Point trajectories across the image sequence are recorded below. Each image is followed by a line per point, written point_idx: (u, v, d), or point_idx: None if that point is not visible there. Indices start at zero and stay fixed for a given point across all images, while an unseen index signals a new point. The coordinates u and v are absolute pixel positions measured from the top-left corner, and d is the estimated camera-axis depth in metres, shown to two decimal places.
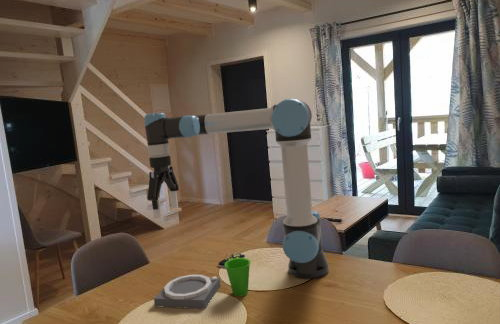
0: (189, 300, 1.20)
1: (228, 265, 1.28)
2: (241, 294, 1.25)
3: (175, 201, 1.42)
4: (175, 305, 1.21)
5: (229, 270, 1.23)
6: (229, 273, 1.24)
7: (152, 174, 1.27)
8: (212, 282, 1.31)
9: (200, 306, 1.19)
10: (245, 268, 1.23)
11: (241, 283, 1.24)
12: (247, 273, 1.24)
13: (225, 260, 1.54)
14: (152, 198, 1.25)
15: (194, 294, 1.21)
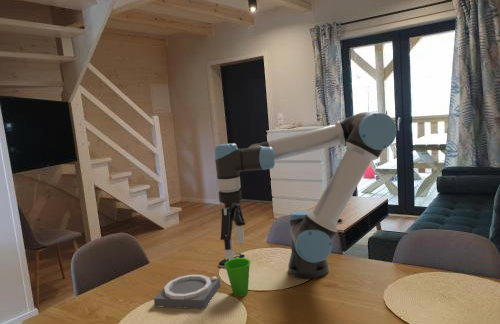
0: (189, 300, 1.20)
1: (228, 265, 1.28)
2: (241, 294, 1.25)
3: (241, 236, 1.31)
4: (175, 305, 1.21)
5: (229, 270, 1.23)
6: (229, 273, 1.24)
7: (225, 211, 1.17)
8: (212, 282, 1.31)
9: (200, 306, 1.19)
10: (245, 268, 1.23)
11: (241, 283, 1.24)
12: (247, 273, 1.24)
13: (225, 260, 1.54)
14: (226, 238, 1.15)
15: (194, 294, 1.21)
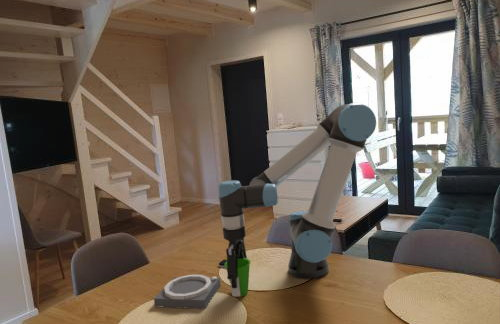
0: (189, 300, 1.20)
1: None
2: (241, 294, 1.25)
3: None
4: (175, 305, 1.21)
5: None
6: None
7: (230, 252, 1.19)
8: (212, 282, 1.31)
9: (200, 306, 1.19)
10: (245, 268, 1.23)
11: (241, 283, 1.24)
12: (247, 273, 1.24)
13: (225, 260, 1.54)
14: (233, 278, 1.18)
15: (194, 294, 1.21)
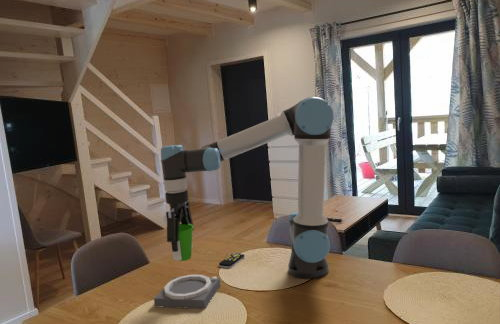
0: (189, 300, 1.20)
1: None
2: (183, 258, 1.25)
3: None
4: (175, 305, 1.21)
5: None
6: None
7: (169, 214, 1.18)
8: (212, 282, 1.31)
9: (200, 306, 1.19)
10: (187, 232, 1.23)
11: (182, 247, 1.23)
12: (189, 237, 1.24)
13: (225, 260, 1.54)
14: (172, 240, 1.18)
15: (194, 294, 1.21)
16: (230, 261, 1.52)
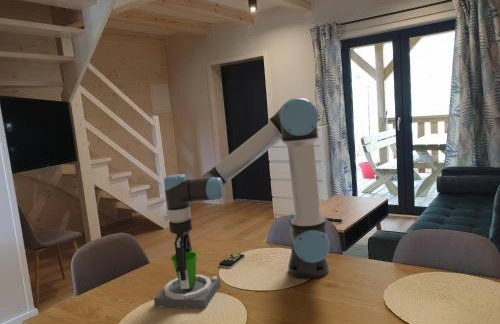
0: (189, 300, 1.20)
1: (174, 259, 1.28)
2: (189, 286, 1.26)
3: None
4: (175, 305, 1.21)
5: None
6: None
7: (178, 244, 1.20)
8: (212, 282, 1.31)
9: (200, 306, 1.19)
10: (193, 260, 1.25)
11: (189, 275, 1.25)
12: (194, 265, 1.26)
13: (225, 260, 1.54)
14: (182, 270, 1.19)
15: (194, 294, 1.21)
16: (230, 261, 1.52)
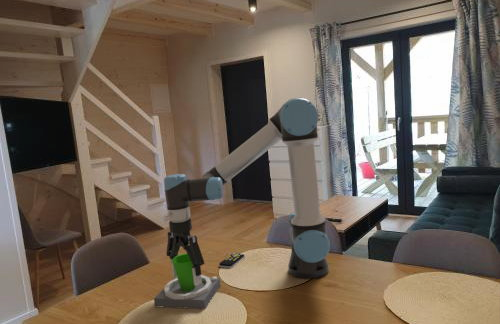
0: (189, 300, 1.20)
1: None
2: (194, 286, 1.27)
3: None
4: (175, 305, 1.21)
5: (186, 265, 1.23)
6: (185, 268, 1.24)
7: (194, 239, 1.21)
8: (212, 282, 1.31)
9: (200, 306, 1.19)
10: None
11: None
12: None
13: (226, 260, 1.54)
14: (203, 263, 1.21)
15: (194, 294, 1.21)
16: (230, 261, 1.52)
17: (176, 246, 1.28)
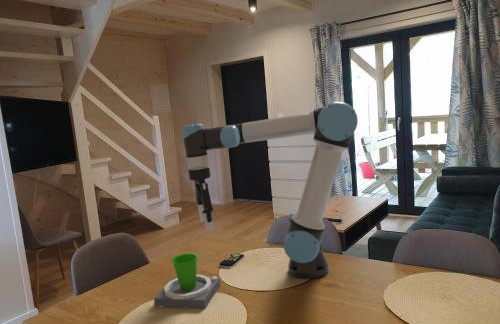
0: (189, 300, 1.20)
1: None
2: (194, 286, 1.27)
3: None
4: (175, 305, 1.21)
5: (186, 265, 1.23)
6: (185, 268, 1.24)
7: (204, 186, 1.24)
8: (212, 282, 1.31)
9: (200, 306, 1.19)
10: (196, 258, 1.28)
11: (195, 275, 1.27)
12: None
13: (226, 260, 1.54)
14: (211, 210, 1.22)
15: (194, 294, 1.21)
16: (231, 261, 1.52)
17: (199, 193, 1.34)
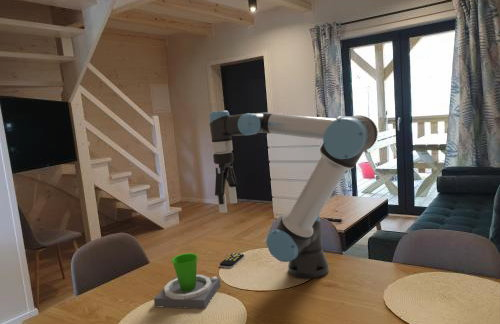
0: (189, 300, 1.20)
1: None
2: (194, 286, 1.27)
3: (234, 196, 1.46)
4: (175, 305, 1.21)
5: (186, 265, 1.23)
6: (185, 268, 1.24)
7: (218, 170, 1.31)
8: (212, 282, 1.31)
9: (200, 306, 1.19)
10: (196, 258, 1.28)
11: (195, 275, 1.27)
12: None
13: (226, 260, 1.54)
14: (220, 193, 1.29)
15: (194, 294, 1.21)
16: (231, 261, 1.52)
17: None
